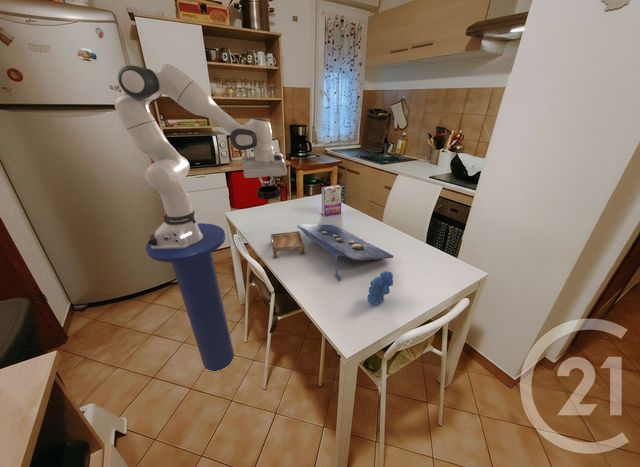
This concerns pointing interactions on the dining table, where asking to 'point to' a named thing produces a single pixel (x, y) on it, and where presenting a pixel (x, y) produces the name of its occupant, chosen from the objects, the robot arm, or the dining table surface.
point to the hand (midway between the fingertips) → (266, 185)
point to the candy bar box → (331, 200)
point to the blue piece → (342, 243)
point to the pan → (268, 191)
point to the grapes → (380, 287)
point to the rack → (286, 242)
